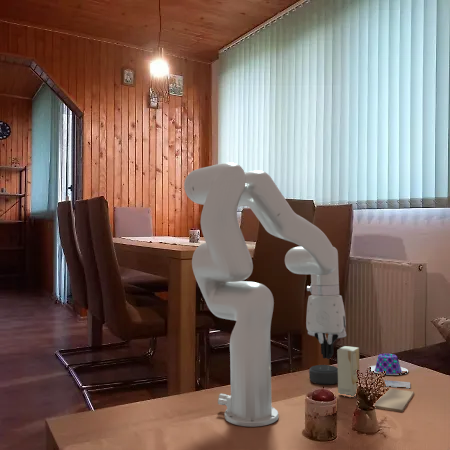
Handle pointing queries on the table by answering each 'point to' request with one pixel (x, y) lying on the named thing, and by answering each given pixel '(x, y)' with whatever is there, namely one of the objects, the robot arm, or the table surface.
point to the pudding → (388, 364)
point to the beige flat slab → (394, 400)
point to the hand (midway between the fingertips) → (327, 357)
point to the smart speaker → (323, 374)
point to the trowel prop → (396, 384)
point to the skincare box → (347, 369)
